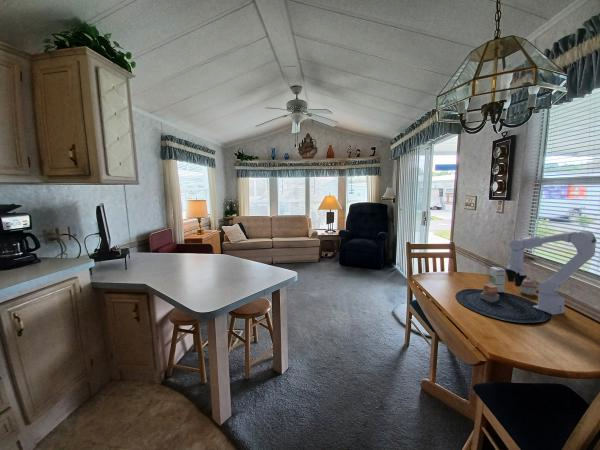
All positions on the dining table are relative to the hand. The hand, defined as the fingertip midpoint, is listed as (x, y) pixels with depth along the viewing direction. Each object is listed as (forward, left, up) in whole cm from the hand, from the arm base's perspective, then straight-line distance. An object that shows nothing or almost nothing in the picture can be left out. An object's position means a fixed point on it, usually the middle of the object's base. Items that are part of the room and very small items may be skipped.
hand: (514, 283), depth 145 cm
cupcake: (+4, -17, -10) cm, 20 cm away
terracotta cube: (+4, +12, -6) cm, 14 cm away
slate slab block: (+4, +12, -10) cm, 16 cm away
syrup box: (+13, -4, -10) cm, 17 cm away
